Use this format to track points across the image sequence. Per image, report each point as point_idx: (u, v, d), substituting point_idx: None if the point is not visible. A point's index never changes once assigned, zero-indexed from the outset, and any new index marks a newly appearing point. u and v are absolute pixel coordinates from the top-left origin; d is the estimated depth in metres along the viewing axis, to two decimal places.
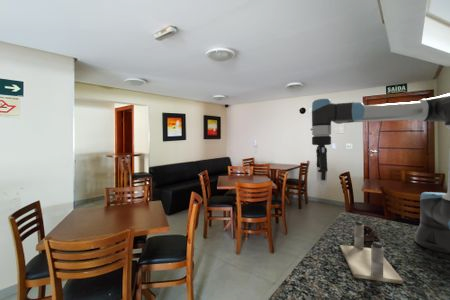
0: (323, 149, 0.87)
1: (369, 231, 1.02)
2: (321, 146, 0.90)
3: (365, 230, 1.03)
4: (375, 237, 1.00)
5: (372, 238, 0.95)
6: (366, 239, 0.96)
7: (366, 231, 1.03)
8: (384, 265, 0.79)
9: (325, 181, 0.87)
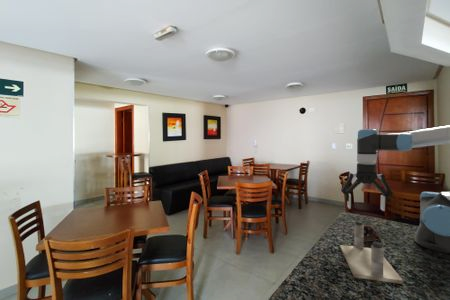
0: (349, 174, 1.01)
1: (370, 231, 1.02)
2: None
3: (366, 230, 1.02)
4: (376, 237, 1.00)
5: (374, 238, 0.94)
6: (368, 239, 0.95)
7: (367, 231, 1.02)
8: (384, 265, 0.79)
9: (348, 202, 1.01)
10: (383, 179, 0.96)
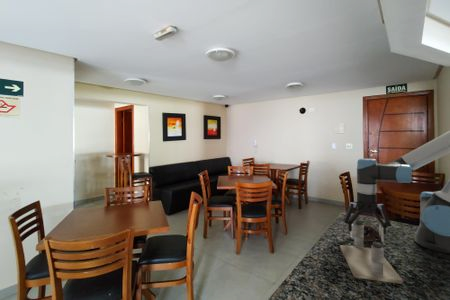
0: (349, 204, 1.02)
1: (371, 231, 1.02)
2: None
3: (367, 230, 1.02)
4: (377, 237, 1.00)
5: (374, 238, 0.94)
6: (368, 239, 0.95)
7: (368, 231, 1.02)
8: (384, 265, 0.79)
9: (351, 232, 1.01)
10: (383, 209, 0.97)
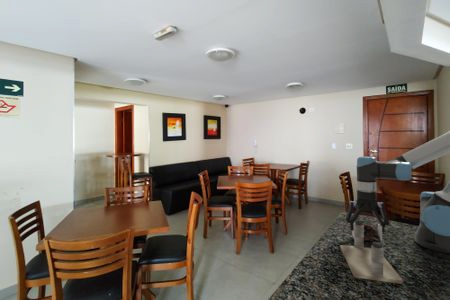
0: (350, 203, 1.02)
1: (370, 230, 1.02)
2: None
3: (366, 229, 1.03)
4: (376, 236, 1.00)
5: (372, 237, 0.95)
6: (366, 238, 0.96)
7: (367, 230, 1.03)
8: (384, 265, 0.79)
9: (353, 232, 1.01)
10: (383, 208, 0.97)
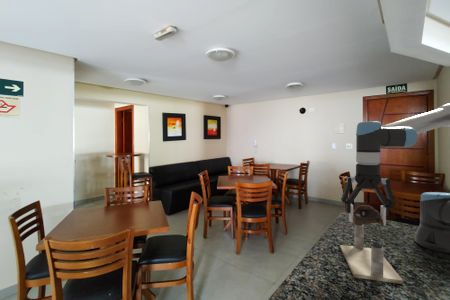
0: (347, 179, 0.83)
1: (370, 213, 0.83)
2: None
3: (366, 212, 0.84)
4: (378, 220, 0.81)
5: (373, 220, 0.76)
6: (366, 221, 0.77)
7: (367, 213, 0.84)
8: (384, 265, 0.79)
9: (350, 214, 0.82)
10: (387, 185, 0.78)
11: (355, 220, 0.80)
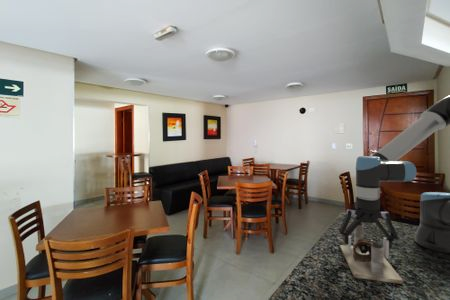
0: (347, 211, 0.83)
1: (370, 248, 0.83)
2: None
3: (365, 247, 0.84)
4: None
5: None
6: (366, 259, 0.77)
7: (367, 248, 0.84)
8: (384, 265, 0.79)
9: (348, 246, 0.83)
10: (388, 219, 0.78)
11: (355, 256, 0.81)
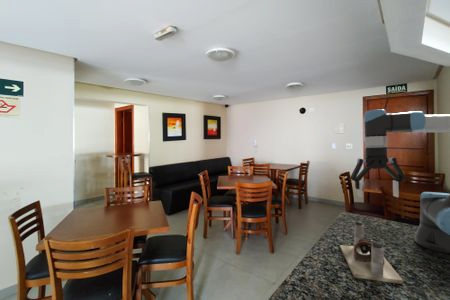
0: (358, 160, 0.93)
1: None
2: (366, 157, 0.93)
3: (366, 247, 0.84)
4: None
5: None
6: (367, 260, 0.77)
7: (367, 248, 0.84)
8: (384, 265, 0.79)
9: (359, 190, 0.93)
10: (395, 163, 0.90)
11: (356, 257, 0.81)
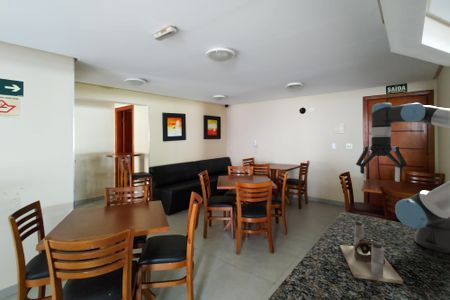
0: (364, 148, 1.05)
1: None
2: (371, 145, 1.04)
3: (367, 247, 0.84)
4: None
5: None
6: (367, 260, 0.77)
7: (368, 248, 0.84)
8: (384, 265, 0.79)
9: (364, 175, 1.05)
10: (397, 151, 1.00)
11: (357, 257, 0.80)
